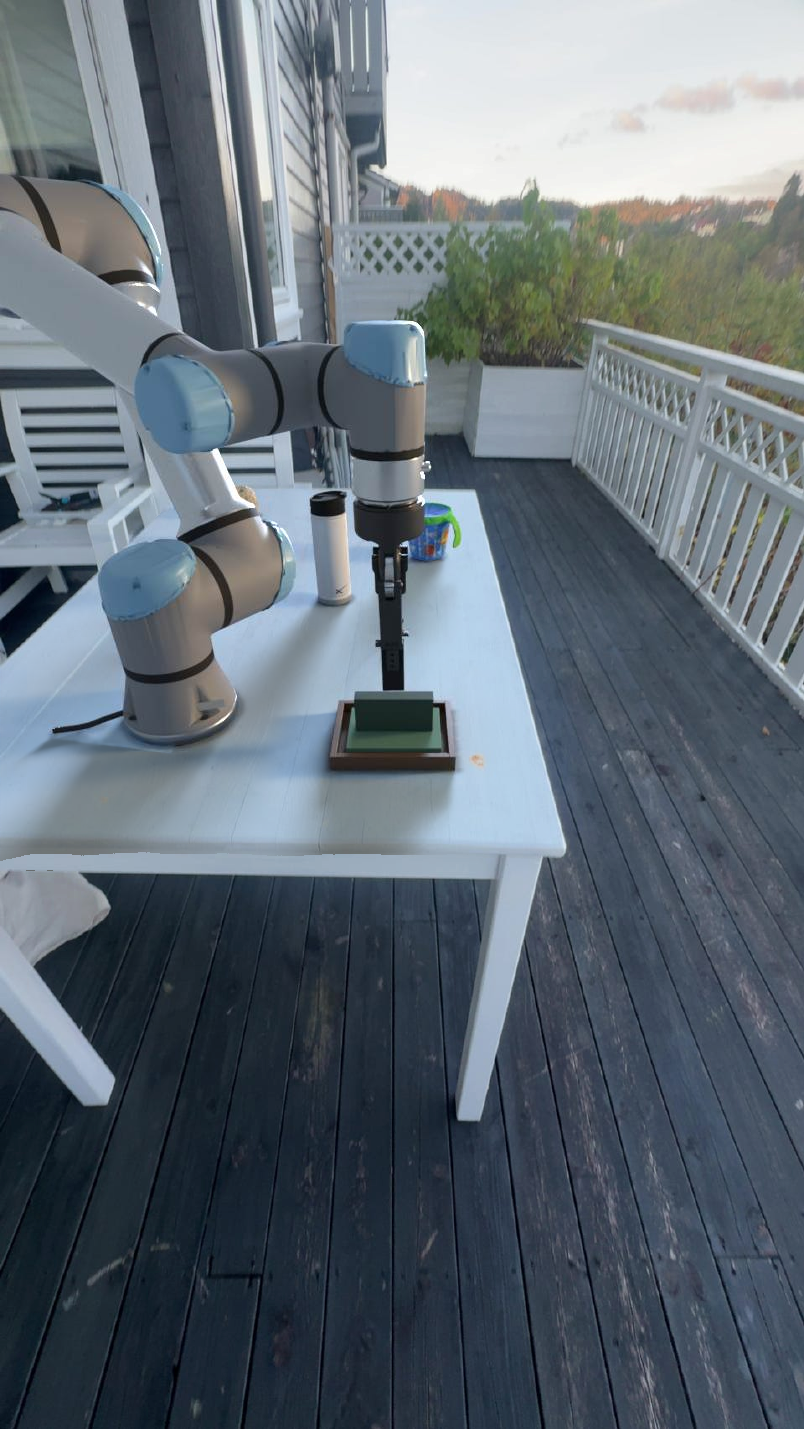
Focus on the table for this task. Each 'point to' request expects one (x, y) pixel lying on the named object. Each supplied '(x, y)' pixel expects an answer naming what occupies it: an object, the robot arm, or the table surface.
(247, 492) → the sponge
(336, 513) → the travel mug
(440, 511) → the snack cup
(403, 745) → the back pad
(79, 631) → the table surface
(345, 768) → the back frame
